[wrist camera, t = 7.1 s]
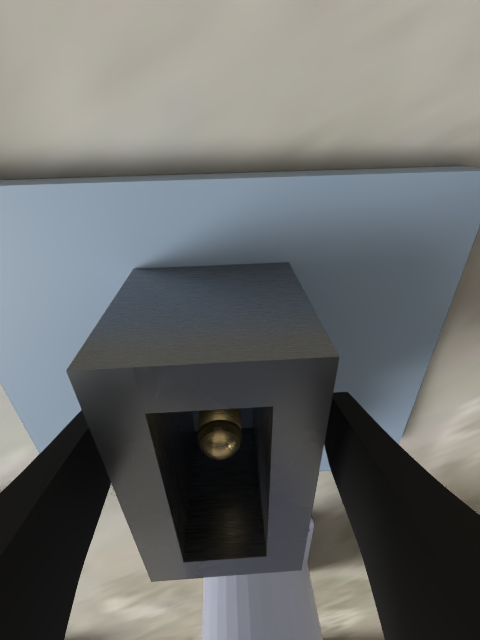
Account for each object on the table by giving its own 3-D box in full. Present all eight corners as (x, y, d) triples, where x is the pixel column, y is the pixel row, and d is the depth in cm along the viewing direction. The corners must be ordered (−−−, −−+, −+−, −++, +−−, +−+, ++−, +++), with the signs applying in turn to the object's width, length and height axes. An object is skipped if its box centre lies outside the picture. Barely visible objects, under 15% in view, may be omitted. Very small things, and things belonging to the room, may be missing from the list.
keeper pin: (238, 384, 13) (244, 468, 9) (203, 386, 13) (197, 470, 9) (237, 357, 12) (243, 437, 9) (200, 359, 12) (193, 440, 9)
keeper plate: (377, 442, 17) (390, 466, 16) (71, 461, 17) (58, 488, 16) (464, 165, 10) (500, 170, 9) (-65, 181, 10) (-110, 189, 8)
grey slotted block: (277, 443, 15) (301, 570, 10) (172, 449, 14) (151, 581, 10) (288, 262, 10) (340, 356, 6) (133, 268, 10) (65, 371, 6)
